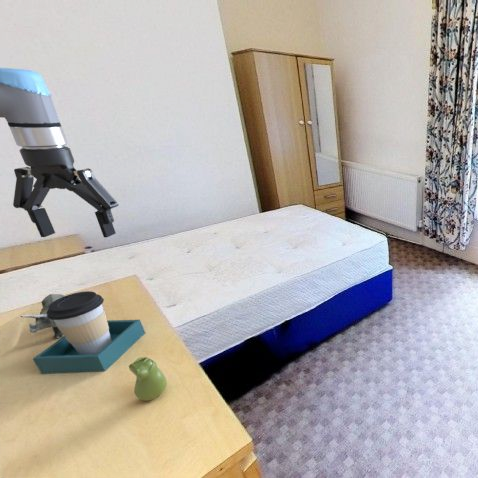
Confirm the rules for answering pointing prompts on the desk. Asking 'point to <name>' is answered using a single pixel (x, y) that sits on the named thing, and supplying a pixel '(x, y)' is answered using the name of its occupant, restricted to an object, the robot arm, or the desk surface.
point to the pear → (148, 379)
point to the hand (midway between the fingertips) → (79, 235)
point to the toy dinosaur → (45, 317)
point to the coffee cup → (82, 321)
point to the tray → (69, 361)
